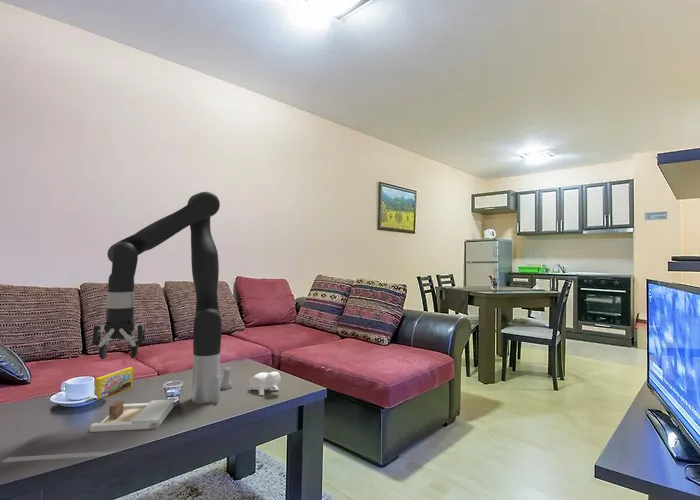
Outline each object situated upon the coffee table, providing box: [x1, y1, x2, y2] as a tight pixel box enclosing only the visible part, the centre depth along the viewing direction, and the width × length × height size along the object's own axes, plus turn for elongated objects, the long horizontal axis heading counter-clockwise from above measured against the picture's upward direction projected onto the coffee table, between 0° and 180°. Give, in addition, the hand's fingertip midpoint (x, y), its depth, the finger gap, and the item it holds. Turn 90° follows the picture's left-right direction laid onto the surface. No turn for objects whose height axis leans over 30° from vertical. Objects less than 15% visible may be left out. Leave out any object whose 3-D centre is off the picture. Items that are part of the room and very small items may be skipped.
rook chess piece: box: [220, 366, 233, 390], centre depth 153 cm, size 4×4×8 cm
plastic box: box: [89, 399, 175, 433], centre depth 119 cm, size 18×17×3 cm
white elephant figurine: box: [248, 371, 282, 396], centre depth 148 cm, size 9×8×15 cm
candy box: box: [93, 366, 134, 400], centre depth 143 cm, size 16×2×8 cm, turn 168°
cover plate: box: [103, 400, 144, 423], centre depth 119 cm, size 14×12×5 cm
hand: (118, 358), depth 119 cm, fingers open, 8 cm apart
